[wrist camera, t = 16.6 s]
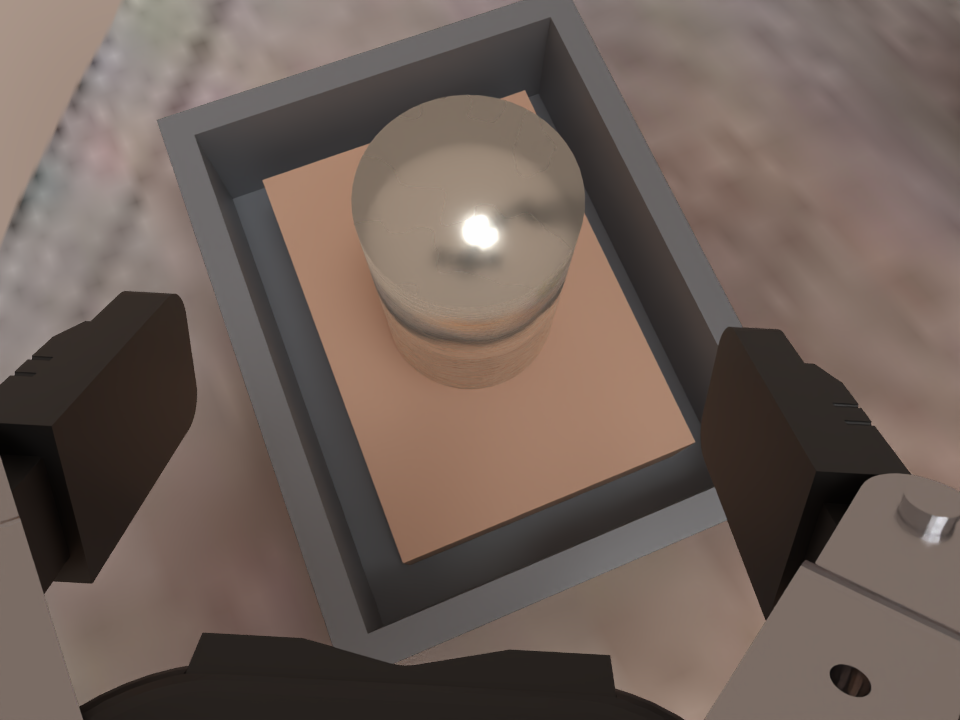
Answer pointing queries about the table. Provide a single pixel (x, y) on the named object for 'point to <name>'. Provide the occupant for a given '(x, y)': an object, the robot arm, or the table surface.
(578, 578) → the tote
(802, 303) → the table surface
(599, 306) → the flat box
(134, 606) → the table surface
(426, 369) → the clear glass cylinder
